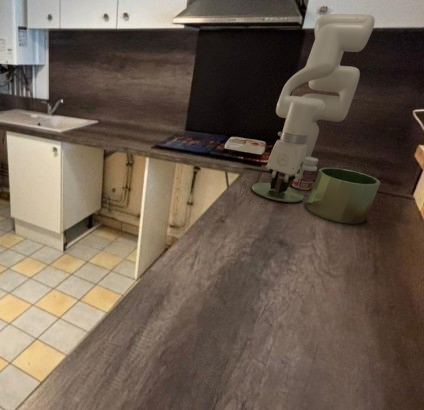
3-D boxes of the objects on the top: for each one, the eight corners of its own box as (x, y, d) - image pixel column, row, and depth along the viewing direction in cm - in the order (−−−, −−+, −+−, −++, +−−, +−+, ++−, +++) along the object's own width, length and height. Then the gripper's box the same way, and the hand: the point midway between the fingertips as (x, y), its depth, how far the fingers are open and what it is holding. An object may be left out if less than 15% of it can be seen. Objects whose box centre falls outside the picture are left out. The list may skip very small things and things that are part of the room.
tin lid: (241, 189, 128) (245, 173, 126) (268, 183, 137) (272, 167, 134) (286, 207, 116) (291, 189, 113) (312, 198, 124) (318, 182, 122)
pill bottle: (313, 188, 134) (323, 159, 129) (305, 191, 130) (314, 161, 126) (296, 183, 138) (306, 155, 134) (288, 185, 135) (297, 157, 130)
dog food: (262, 160, 166) (265, 150, 164) (221, 153, 173) (223, 143, 171) (265, 146, 191) (267, 137, 189) (229, 141, 198) (231, 132, 196)
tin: (297, 207, 116) (309, 171, 111) (321, 199, 124) (333, 165, 119) (349, 228, 104) (366, 188, 99) (372, 217, 112) (389, 180, 107)
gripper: (264, 133, 122) (250, 184, 130) (312, 145, 110) (294, 200, 118) (276, 132, 126) (263, 181, 134) (324, 143, 114) (306, 196, 121)
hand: (277, 189), depth 125 cm, fingers closed on tin lid, 2 cm apart
